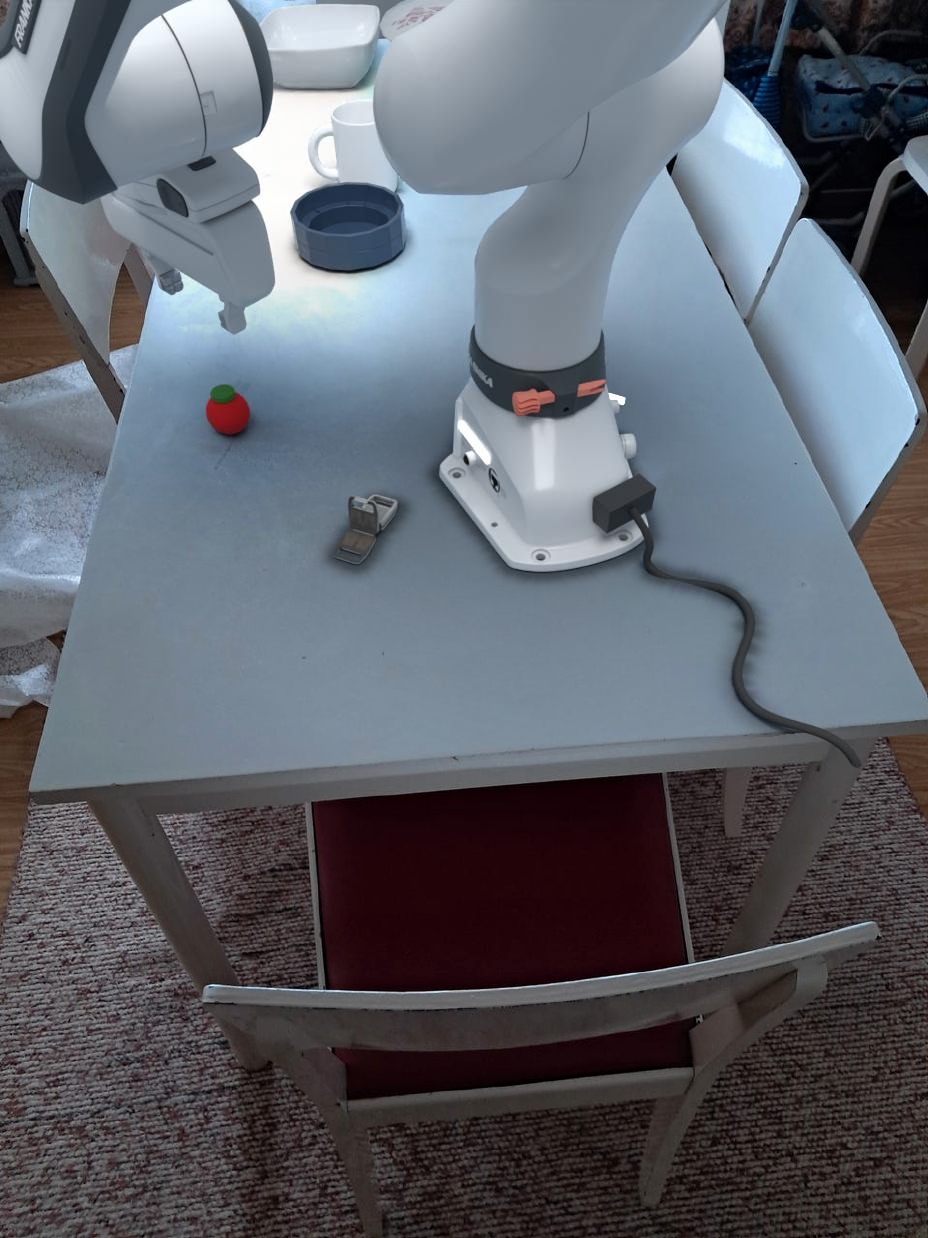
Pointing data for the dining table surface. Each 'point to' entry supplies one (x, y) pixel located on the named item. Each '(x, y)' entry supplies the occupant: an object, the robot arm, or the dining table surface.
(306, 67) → the bowl
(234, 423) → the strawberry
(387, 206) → the bowl
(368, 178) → the mug
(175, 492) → the dining table surface
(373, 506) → the strap clip
